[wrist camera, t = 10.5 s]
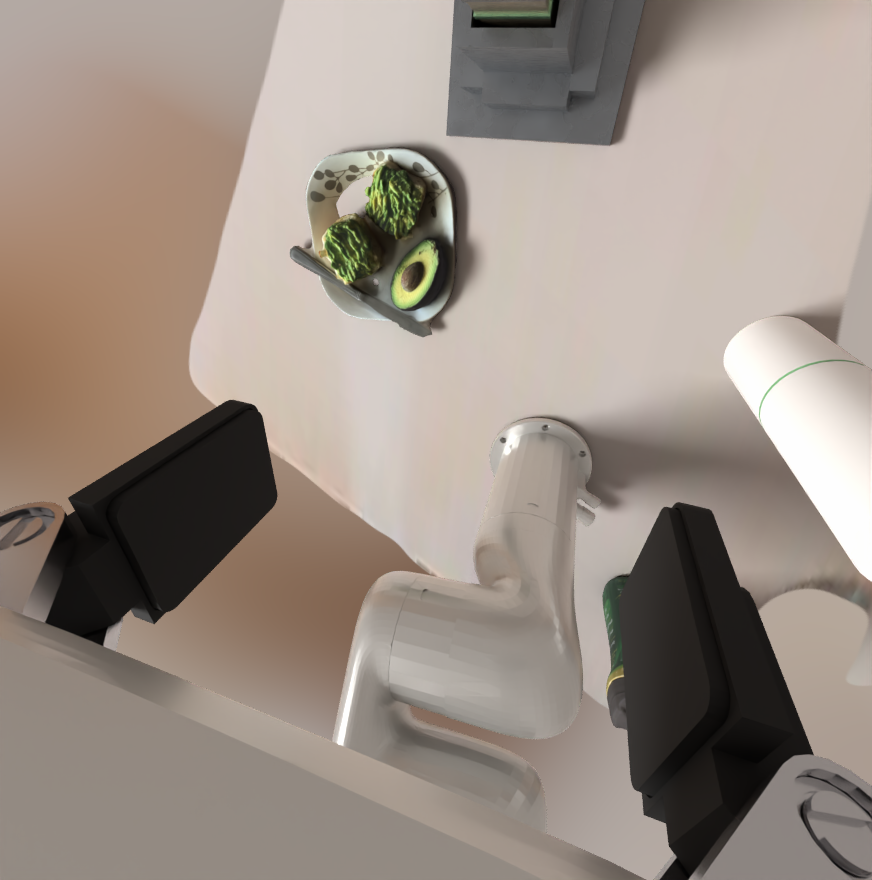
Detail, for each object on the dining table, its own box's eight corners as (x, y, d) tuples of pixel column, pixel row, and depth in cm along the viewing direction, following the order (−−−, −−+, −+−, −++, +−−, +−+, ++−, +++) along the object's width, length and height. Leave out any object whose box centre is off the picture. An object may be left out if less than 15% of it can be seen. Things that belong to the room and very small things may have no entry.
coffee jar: (599, 604, 64) (601, 736, 49) (607, 569, 59) (612, 702, 45) (669, 618, 61) (694, 763, 46) (682, 582, 57) (715, 729, 42)
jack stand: (673, -119, 27) (725, -299, 16) (609, 145, 35) (617, 136, 24) (464, -105, 30) (397, -249, 19) (449, 136, 38) (395, 123, 27)
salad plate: (310, 320, 53) (289, 331, 49) (281, 150, 43) (252, 148, 39) (456, 335, 48) (445, 348, 44) (461, 146, 38) (447, 144, 35)
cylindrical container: (764, 400, 42) (923, 615, 22) (705, 362, 41) (813, 543, 21) (837, 344, 37) (1122, 547, 17) (773, 300, 37) (987, 455, 17)
